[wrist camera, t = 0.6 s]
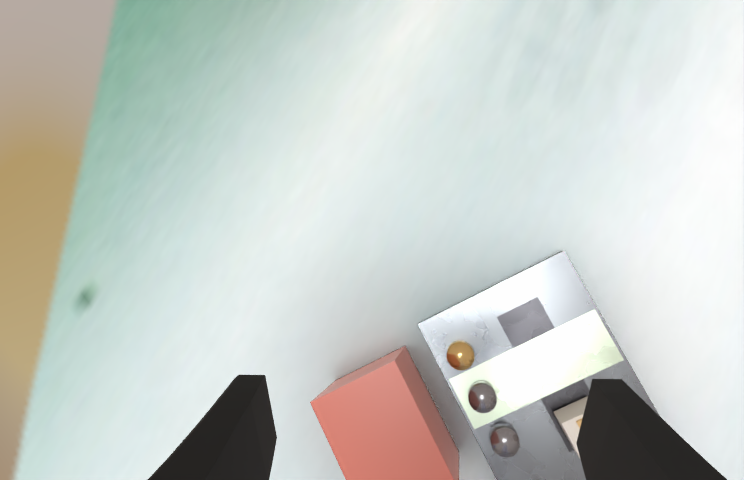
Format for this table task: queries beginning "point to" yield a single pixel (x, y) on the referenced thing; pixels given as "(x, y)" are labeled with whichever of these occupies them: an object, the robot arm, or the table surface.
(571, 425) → the block
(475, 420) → the panel
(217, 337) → the table surface
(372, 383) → the cap
